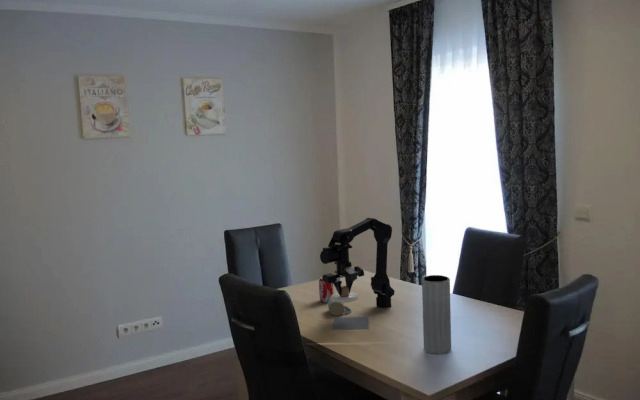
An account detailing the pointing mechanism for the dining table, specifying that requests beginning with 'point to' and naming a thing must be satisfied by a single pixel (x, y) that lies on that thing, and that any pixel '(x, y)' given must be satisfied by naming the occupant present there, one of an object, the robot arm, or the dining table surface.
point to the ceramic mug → (337, 308)
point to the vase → (436, 314)
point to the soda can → (325, 290)
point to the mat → (350, 323)
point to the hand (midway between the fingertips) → (344, 294)
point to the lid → (344, 295)
